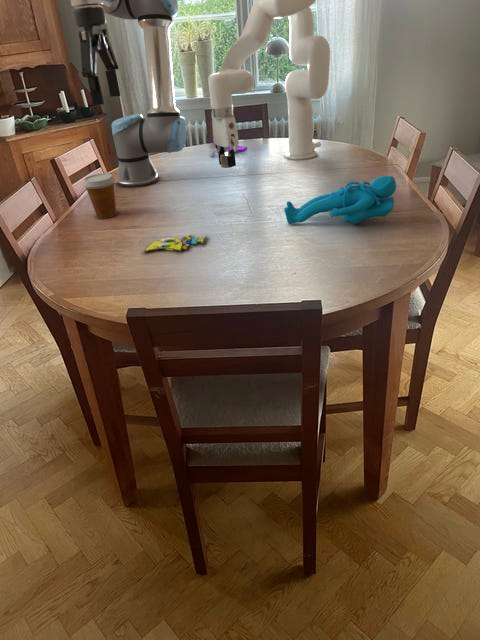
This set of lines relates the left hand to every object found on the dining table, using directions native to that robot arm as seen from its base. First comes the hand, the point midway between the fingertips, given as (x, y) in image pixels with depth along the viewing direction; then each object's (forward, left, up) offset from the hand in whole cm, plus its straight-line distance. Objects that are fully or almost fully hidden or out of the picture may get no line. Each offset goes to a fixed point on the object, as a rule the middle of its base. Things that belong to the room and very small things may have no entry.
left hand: (107, 100), depth 131 cm
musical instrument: (-59, +57, -34) cm, 89 cm away
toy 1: (+26, +5, -34) cm, 44 cm away
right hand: (-21, +43, -30) cm, 56 cm away
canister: (-21, +43, -30) cm, 57 cm away
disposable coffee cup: (-10, -6, -34) cm, 36 cm away
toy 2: (+39, +49, -34) cm, 72 cm away
